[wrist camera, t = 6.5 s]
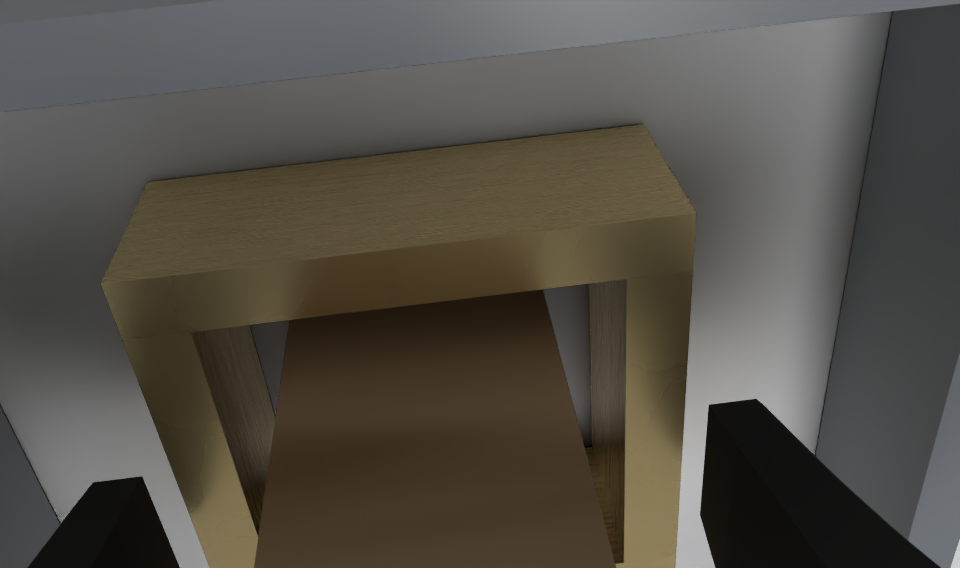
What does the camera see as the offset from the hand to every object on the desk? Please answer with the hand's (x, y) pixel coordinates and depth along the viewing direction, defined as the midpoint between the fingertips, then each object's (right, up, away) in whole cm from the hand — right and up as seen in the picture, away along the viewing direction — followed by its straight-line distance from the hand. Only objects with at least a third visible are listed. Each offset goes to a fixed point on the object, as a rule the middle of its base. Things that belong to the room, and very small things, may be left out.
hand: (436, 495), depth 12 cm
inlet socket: (0, +2, +3) cm, 3 cm away
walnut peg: (0, +1, +3) cm, 3 cm away
